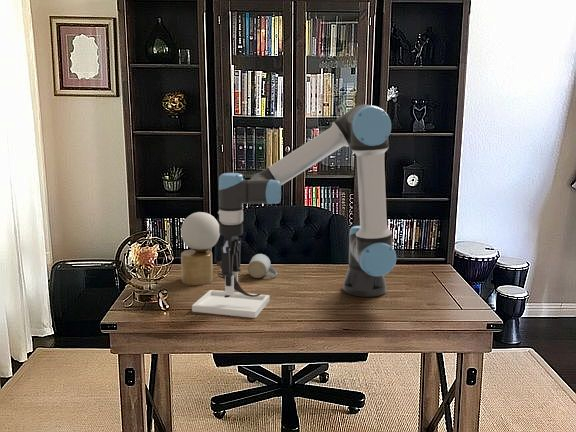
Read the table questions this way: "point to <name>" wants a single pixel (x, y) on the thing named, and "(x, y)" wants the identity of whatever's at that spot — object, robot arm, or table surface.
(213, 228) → the lamp
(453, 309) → the table surface
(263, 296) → the tray
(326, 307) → the table surface
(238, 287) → the dinosaur model
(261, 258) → the ceramic mug
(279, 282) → the table surface
